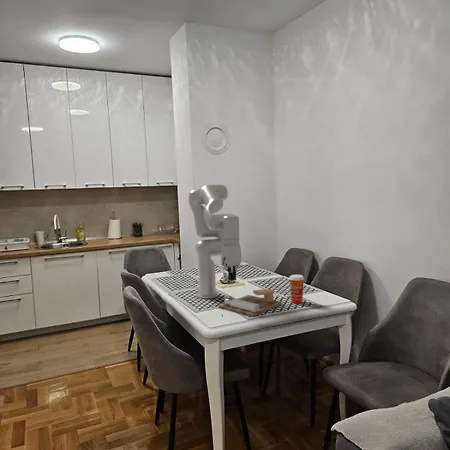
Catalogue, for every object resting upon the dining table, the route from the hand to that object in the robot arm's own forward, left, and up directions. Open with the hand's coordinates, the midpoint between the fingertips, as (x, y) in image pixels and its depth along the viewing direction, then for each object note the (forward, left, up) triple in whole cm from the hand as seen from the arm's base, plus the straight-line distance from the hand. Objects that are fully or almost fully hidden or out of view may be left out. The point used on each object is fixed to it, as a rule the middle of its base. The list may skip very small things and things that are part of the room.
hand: (232, 280), depth 190 cm
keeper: (0, +24, -17) cm, 29 cm away
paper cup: (+13, +36, -17) cm, 42 cm away
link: (-1, +7, -16) cm, 17 cm away
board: (-2, +16, -17) cm, 23 cm away
